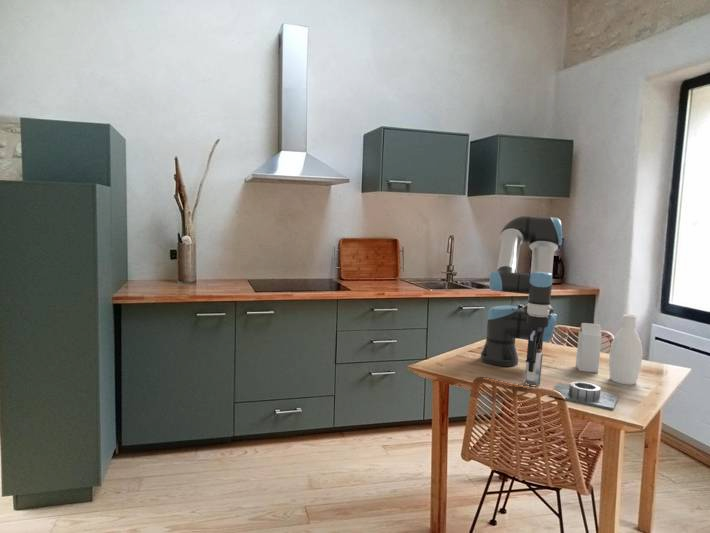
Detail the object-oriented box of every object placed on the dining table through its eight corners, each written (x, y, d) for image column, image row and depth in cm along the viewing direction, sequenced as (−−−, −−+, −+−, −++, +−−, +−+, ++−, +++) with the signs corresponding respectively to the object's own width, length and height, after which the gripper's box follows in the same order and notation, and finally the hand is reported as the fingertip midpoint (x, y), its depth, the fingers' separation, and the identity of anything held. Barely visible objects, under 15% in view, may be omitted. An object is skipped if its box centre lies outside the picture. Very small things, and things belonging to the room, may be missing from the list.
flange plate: (548, 396, 182) (549, 385, 181) (558, 384, 195) (559, 374, 195) (613, 410, 171) (614, 398, 171) (619, 397, 184) (620, 386, 184)
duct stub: (523, 384, 193) (526, 349, 192) (526, 381, 198) (529, 346, 196) (537, 387, 191) (541, 351, 189) (541, 384, 195) (544, 349, 194)
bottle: (638, 388, 196) (645, 319, 193) (605, 381, 202) (611, 315, 199) (640, 380, 205) (647, 315, 203) (608, 374, 211) (615, 311, 209)
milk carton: (598, 373, 213) (602, 326, 211) (579, 371, 214) (583, 324, 212) (593, 368, 220) (598, 322, 218) (575, 366, 221) (579, 321, 219)
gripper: (542, 320, 182) (536, 386, 184) (554, 313, 197) (548, 374, 200) (520, 317, 186) (515, 382, 188) (533, 310, 201) (528, 370, 204)
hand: (532, 378), depth 194 cm, fingers closed on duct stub, 5 cm apart
